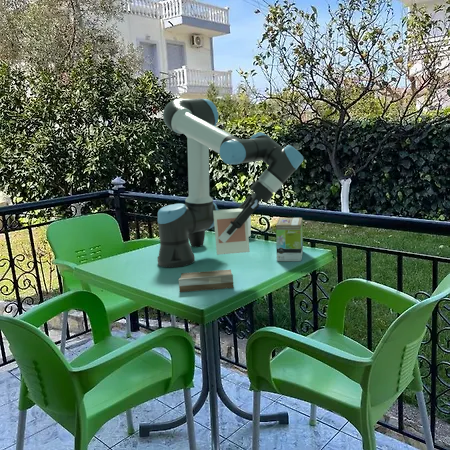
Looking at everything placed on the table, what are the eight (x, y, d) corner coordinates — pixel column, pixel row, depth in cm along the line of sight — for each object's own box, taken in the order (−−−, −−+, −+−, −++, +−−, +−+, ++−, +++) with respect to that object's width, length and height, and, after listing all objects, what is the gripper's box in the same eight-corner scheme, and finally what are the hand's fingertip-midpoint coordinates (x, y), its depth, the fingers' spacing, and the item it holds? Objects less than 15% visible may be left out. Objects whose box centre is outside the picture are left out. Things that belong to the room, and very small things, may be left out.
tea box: (302, 261, 172) (301, 224, 169) (276, 261, 174) (274, 224, 171) (303, 251, 187) (302, 216, 184) (279, 251, 189) (278, 217, 186)
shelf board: (181, 278, 162) (180, 266, 161) (231, 274, 162) (230, 263, 161) (179, 292, 148) (178, 279, 147) (233, 288, 148) (232, 275, 147)
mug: (208, 241, 215) (206, 221, 213) (204, 247, 203) (203, 227, 201) (191, 241, 216) (189, 222, 214) (187, 248, 204) (185, 228, 202)
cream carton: (216, 250, 155) (213, 210, 152) (247, 247, 156) (245, 208, 153) (216, 254, 149) (213, 213, 146) (249, 252, 149) (246, 211, 147)
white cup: (246, 233, 225) (245, 214, 223) (254, 236, 218) (253, 216, 216) (233, 236, 221) (231, 216, 219) (241, 239, 215) (239, 218, 213)
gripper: (279, 198, 140) (230, 252, 142) (270, 190, 158) (227, 238, 161) (261, 182, 138) (213, 237, 141) (254, 176, 157) (212, 225, 160)
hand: (221, 238), depth 151 cm, fingers closed on cream carton, 6 cm apart
